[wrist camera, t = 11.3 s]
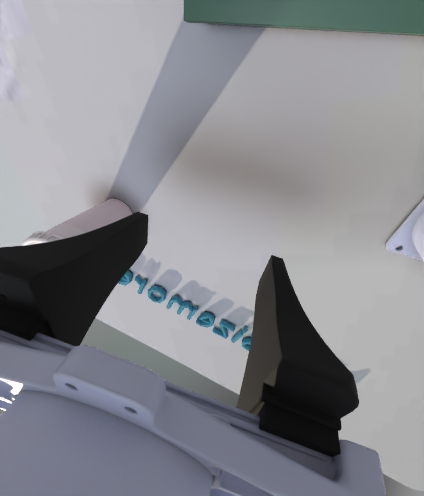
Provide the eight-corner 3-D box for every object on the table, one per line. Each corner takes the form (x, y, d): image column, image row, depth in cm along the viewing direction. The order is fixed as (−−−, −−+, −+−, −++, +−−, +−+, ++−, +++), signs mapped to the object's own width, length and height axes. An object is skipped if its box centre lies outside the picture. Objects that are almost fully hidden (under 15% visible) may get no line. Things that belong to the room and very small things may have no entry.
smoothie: (86, 182, 26) (-57, 267, 16) (140, 191, 25) (27, 289, 15) (100, 231, 30) (-6, 326, 20) (147, 241, 29) (62, 347, 19)
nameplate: (329, 392, 38) (354, 382, 35) (330, 397, 38) (356, 387, 34) (115, 281, 35) (121, 259, 32) (112, 284, 35) (118, 263, 32)
